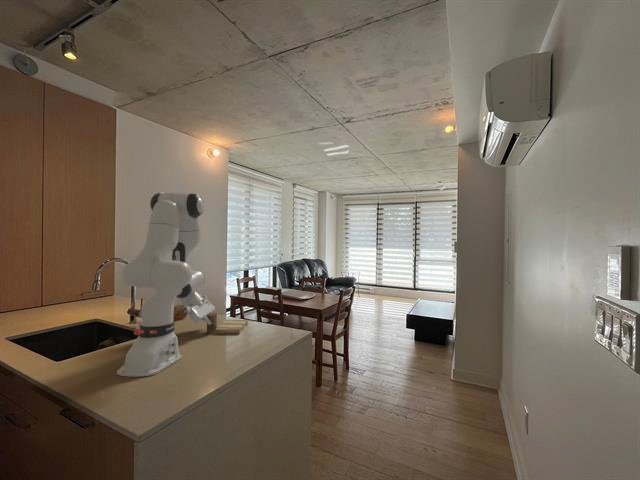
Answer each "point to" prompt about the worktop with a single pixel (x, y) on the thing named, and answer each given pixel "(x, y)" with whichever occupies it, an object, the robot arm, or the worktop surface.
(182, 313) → the brown flat oval piece
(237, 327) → the board
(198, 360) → the worktop surface
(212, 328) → the block
